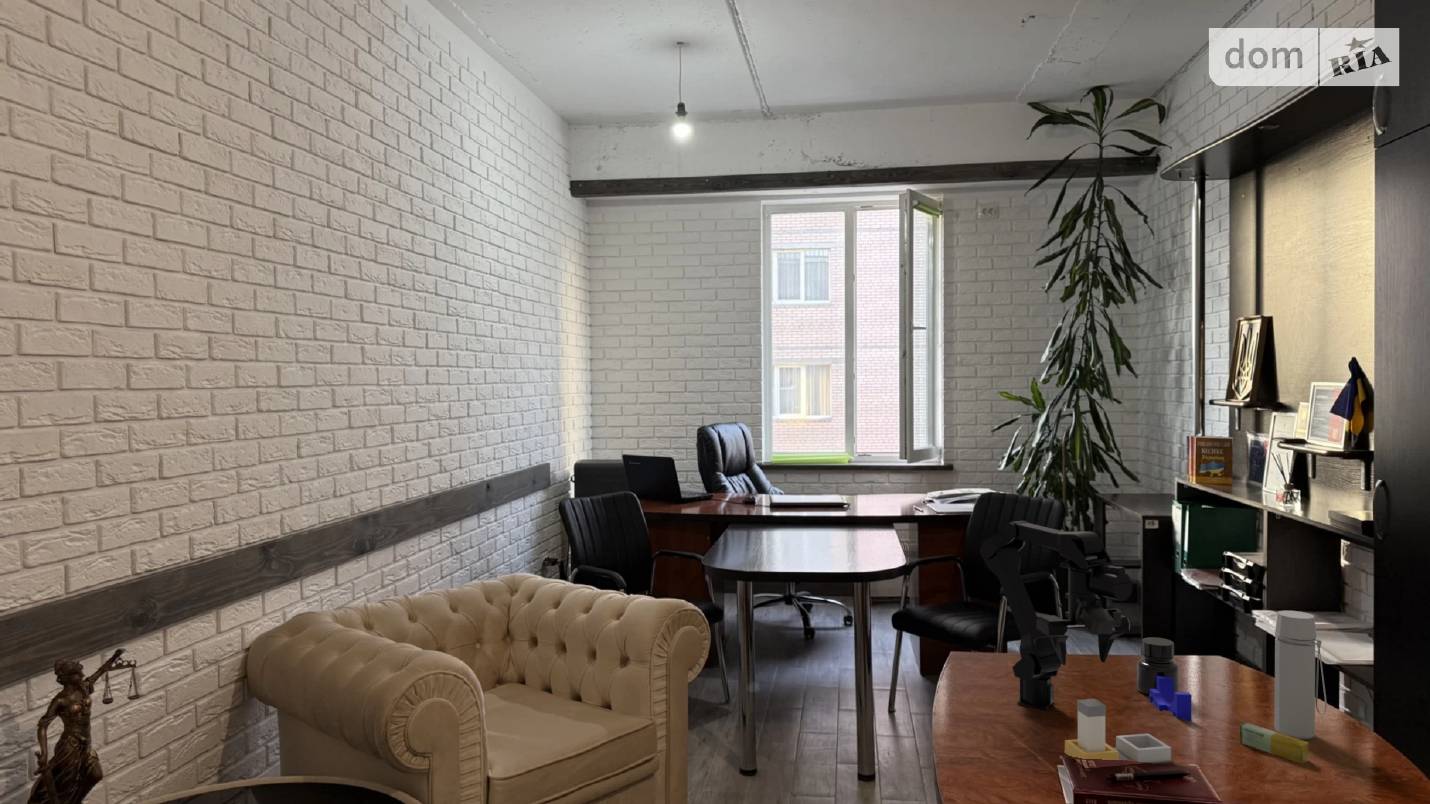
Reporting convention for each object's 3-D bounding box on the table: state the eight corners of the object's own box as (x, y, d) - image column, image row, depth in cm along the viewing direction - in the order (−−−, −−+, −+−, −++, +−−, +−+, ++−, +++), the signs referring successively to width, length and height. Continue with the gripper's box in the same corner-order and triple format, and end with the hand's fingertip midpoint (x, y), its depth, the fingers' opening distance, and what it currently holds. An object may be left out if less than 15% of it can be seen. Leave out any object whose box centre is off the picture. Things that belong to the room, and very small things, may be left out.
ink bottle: (1182, 689, 215) (1182, 639, 214) (1179, 701, 207) (1179, 649, 207) (1138, 682, 220) (1138, 633, 220) (1132, 693, 212) (1132, 643, 212)
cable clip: (1149, 701, 208) (1149, 676, 208) (1170, 702, 207) (1170, 676, 207) (1169, 721, 196) (1169, 694, 196) (1191, 722, 195) (1191, 694, 195)
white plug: (1087, 763, 173) (1087, 706, 173) (1077, 755, 177) (1077, 699, 177) (1105, 762, 174) (1105, 705, 174) (1094, 754, 178) (1094, 698, 177)
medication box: (1238, 744, 184) (1238, 724, 184) (1246, 740, 185) (1246, 721, 185) (1302, 765, 173) (1302, 745, 173) (1309, 762, 175) (1309, 741, 175)
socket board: (1086, 772, 171) (1086, 755, 171) (1063, 754, 179) (1063, 739, 179) (1172, 764, 174) (1172, 748, 174) (1146, 747, 182) (1146, 732, 182)
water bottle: (1278, 738, 185) (1278, 617, 185) (1270, 724, 193) (1270, 608, 192) (1331, 744, 182) (1331, 621, 181) (1321, 730, 189) (1321, 611, 189)
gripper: (1062, 602, 185) (1063, 678, 185) (1146, 597, 188) (1146, 672, 188) (1035, 589, 196) (1035, 661, 196) (1114, 585, 199) (1114, 656, 199)
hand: (1083, 663), depth 195 cm, fingers open, 9 cm apart
